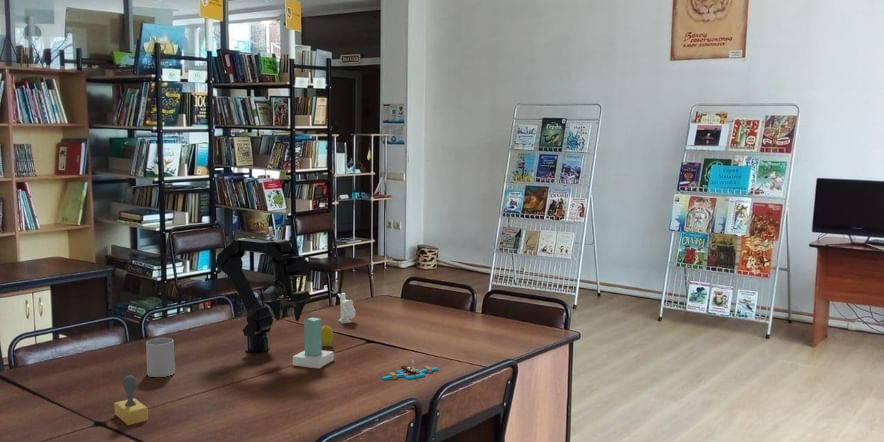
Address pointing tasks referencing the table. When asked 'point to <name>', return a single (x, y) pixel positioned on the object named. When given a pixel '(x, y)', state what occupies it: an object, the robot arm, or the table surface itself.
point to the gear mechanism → (410, 372)
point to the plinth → (313, 359)
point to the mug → (160, 357)
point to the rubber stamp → (130, 404)
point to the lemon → (326, 335)
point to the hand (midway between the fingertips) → (287, 320)
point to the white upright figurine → (346, 309)
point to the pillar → (312, 336)
